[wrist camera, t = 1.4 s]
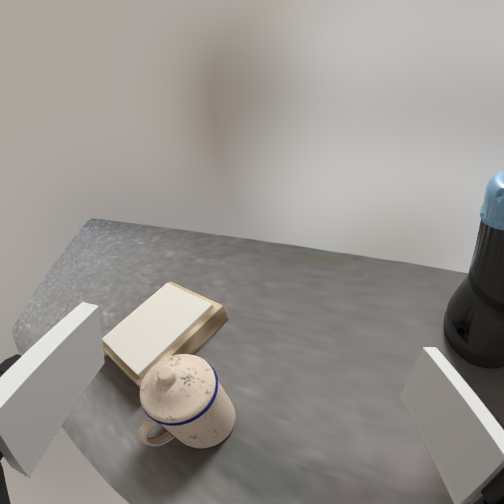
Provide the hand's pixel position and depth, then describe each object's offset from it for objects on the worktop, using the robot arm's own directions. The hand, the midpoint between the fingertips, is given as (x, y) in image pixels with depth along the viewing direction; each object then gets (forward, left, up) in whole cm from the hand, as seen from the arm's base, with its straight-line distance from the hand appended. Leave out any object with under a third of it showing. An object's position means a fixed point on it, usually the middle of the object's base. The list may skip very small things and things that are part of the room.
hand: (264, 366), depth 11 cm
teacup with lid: (+2, -15, -25) cm, 29 cm away
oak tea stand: (-6, -31, -25) cm, 40 cm away
